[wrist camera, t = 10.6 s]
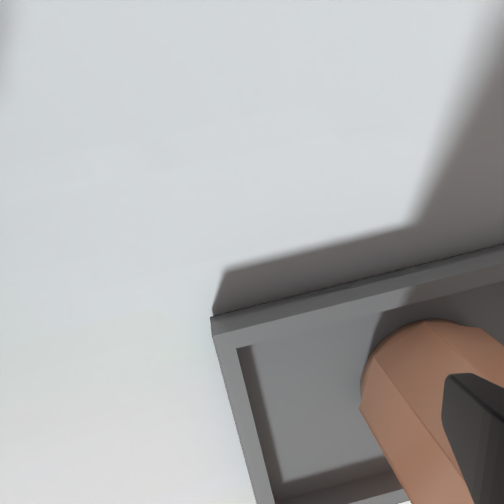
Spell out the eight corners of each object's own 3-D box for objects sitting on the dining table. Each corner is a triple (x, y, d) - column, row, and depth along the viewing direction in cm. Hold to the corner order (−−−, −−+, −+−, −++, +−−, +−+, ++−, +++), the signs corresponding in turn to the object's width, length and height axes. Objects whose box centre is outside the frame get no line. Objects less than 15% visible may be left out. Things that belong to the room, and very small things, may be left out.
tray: (261, 509, 24) (266, 539, 22) (210, 317, 21) (212, 336, 19) (538, 433, 25) (564, 457, 23) (534, 236, 22) (564, 247, 20)
